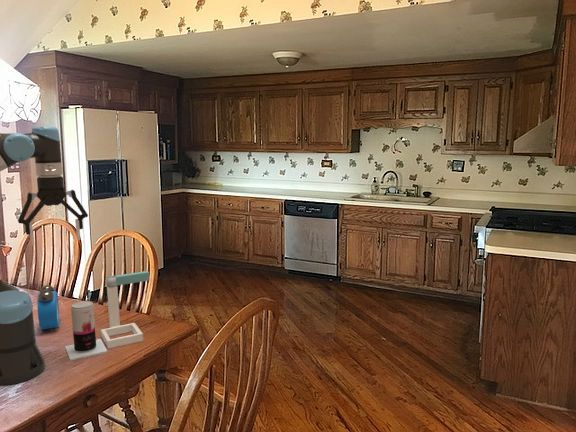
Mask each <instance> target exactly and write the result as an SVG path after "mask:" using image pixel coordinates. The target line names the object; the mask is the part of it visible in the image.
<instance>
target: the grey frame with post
mask: <svg viewBox="0 0 576 432" xmlns="http://www.w3.org/2000/svg"><path fill="white" fill-rule="evenodd" d="M118 292H119V290H118V285H117V286H113V287H107V286H106V294H107V308H108V309H107V310H108V320H109V327H108V328H103V329H100V335H101V337H100V338H102V339H101V340H103V343H104V345H106V346H105V347H106V349H107V350H108V349H113V348H118V347H121V346H126V345H131V344H134V343H140V342H144V333H143V332H142V330H141V329H140V327H138V325H137V324H136V323H135V322H131V323H126V324H122V325H121V321H120V317H121V316H120V305H119V304H120V303H119V293H118ZM130 332H132V333H133V334H129V335H123V336H119V337H116V338H111V337H113V336H116V335H121V334H125V333H126V334H127V333H130Z"/></svg>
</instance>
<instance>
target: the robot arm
mask: <svg viewBox="0 0 576 432" xmlns="http://www.w3.org/2000/svg"><path fill="white" fill-rule="evenodd" d="M61 151H62V149H61V138H60V133H59V129H58V128H57V127H56V126H33V127H32V128H31V132H28V133H21V132H13V133H11V132H10V133H2V132H1V133H0V172H2V171H4V170H6V169H8V168H10V167H12V166H14V165H17V164H18V163H20V162H24V161H27V160H29V159H32V158H33V159H34V160H35V161H34V164H35V175H36V176H38V177H37V178H36V184H37V193H36V192H31V191H30V192H27V194H26V201H25V203H24V205H23V207H22V210H21V212H20V214H19V216H18V219H17V222H18V224H22V225H24V229H25V230H24V231H25V234H26V236H28V235H29V237H30V245H31V246H35V239H34V232H33V231H34V230H33V229H34V228H33V223H31V222H32V221H33V220H34V218H35V217H36V216H37V214H38V213H39V212H40V210H41V209H43V207H44V206H47V207H51V206H60V205H61V204H62V205H63V207H65V208H66V209H67V210H68V211H69V212H70V213H71V214H72V215H73V216H75V220H74V221H75V232H76V234H75V235H76V239H77V240H78V241H80V240H81V232H80V231H81V230H83V229H84V224H83V220H84V219H85V218H88V217H89V214H88V213H87V211H86V209H85V208H84V206H83V205H82V204H81V201H79V199H78V197H77V195H76V191H75V189H71V190H67V191H66V190H65V184H64V177H63V176H62V175H63V173H64V172H63V162H62V152H61ZM66 196H68V197H69V198H71V199H72V201H73V202H74V203H75V205H76V206H77V209H79V211H80V212H81V214H79V213H78V211H76V210H75V209H74V208H73V207H72V206H71V205H69V204H68V203H67V201H65V200H64V199H65V198H66ZM36 198H37V199H38V200H39V202H38V204H37V205H36V206H35V207H34V209H33V210H32V211H31V212H30V214H29V215H28V216H27V218H26V219H25V217H26V215H27V214H28V211H29V209H30V206H31V204H32V201H35V199H36ZM33 304H34V303H33V301H32V297H31V295H30V294H29V293H27V292H25V291H22V290H19V289H18V287H16V286H15V285H11V284H9V283H7V282H6V281H4V280H2V279H1V278H0V386H8V385H15V384H19V383H23V382H25V381H28V380H31V379H33V378H35V377H37V376H39V375H40V374H41V373H42V372H43V371H44V370H45V367H46V364H45V358H44V356H43V354H42V351H41V350H40V349H39V346H38V344H37V339H36V330H35V320H34V312H33V309H34V305H33Z"/></svg>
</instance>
